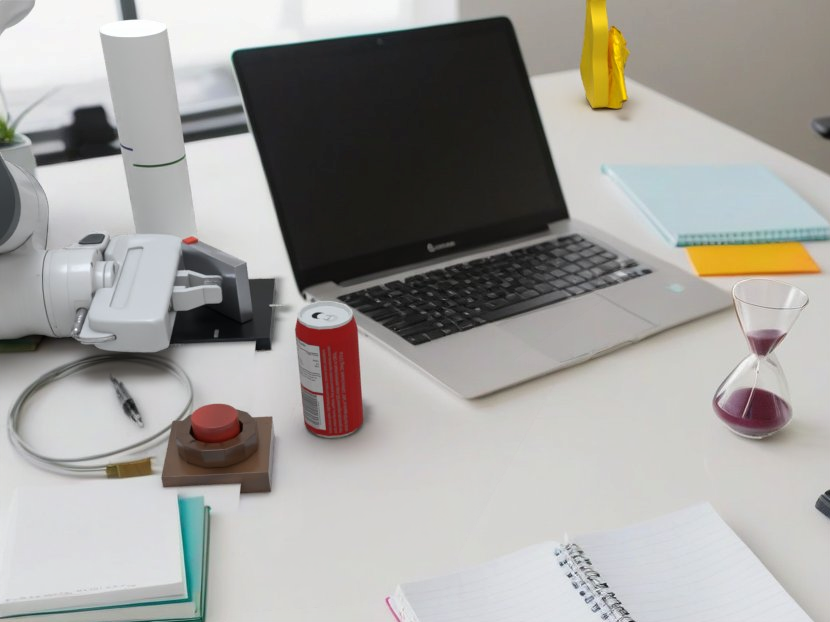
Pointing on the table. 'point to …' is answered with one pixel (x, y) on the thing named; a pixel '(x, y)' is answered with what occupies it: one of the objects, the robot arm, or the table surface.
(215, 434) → the button
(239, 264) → the grey upright flat block
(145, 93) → the cylindrical container
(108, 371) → the table surface
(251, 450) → the button block
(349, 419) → the soda can
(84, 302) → the robot arm
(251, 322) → the panel
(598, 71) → the figure statuette
